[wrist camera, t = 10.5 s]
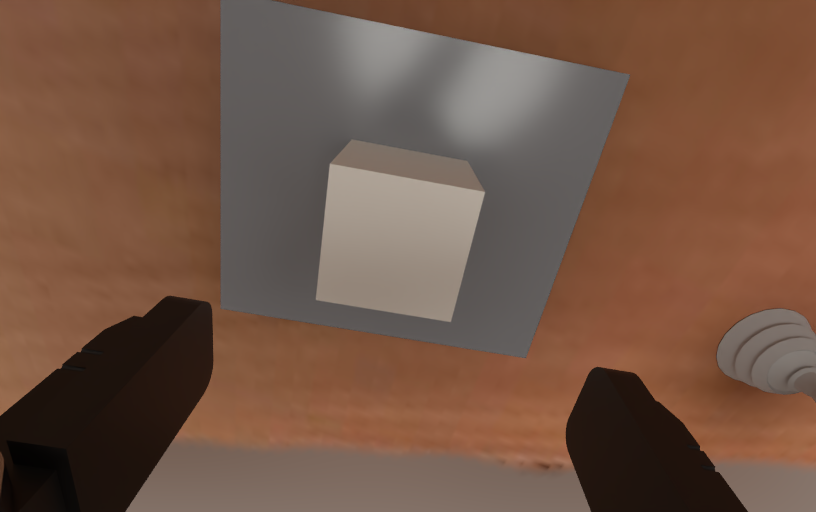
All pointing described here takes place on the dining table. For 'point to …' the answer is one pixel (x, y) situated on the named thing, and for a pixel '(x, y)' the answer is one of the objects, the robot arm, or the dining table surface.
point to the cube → (397, 230)
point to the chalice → (771, 352)
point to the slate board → (407, 129)
